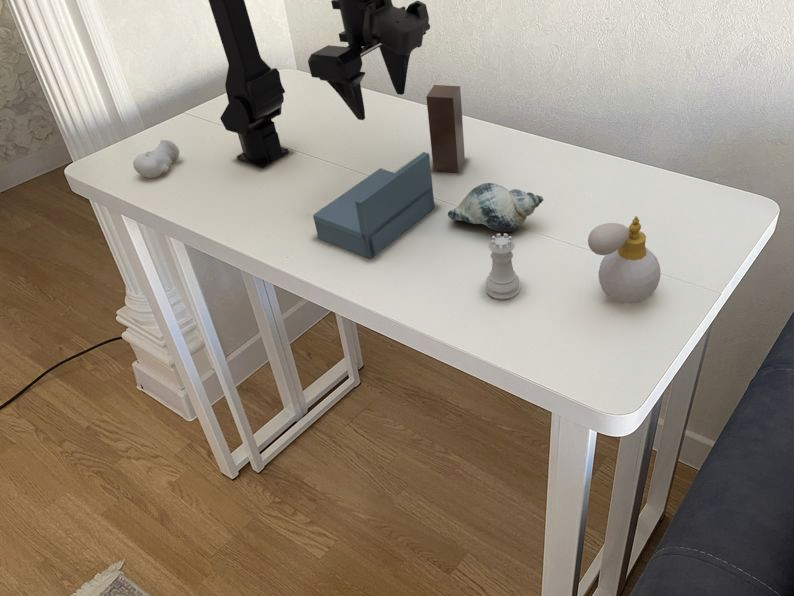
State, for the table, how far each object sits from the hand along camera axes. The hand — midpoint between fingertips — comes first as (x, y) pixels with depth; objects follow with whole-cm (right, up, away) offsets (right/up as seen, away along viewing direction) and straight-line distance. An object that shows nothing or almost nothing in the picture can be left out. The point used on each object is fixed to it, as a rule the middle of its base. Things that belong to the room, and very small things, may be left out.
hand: (381, 106), depth 102 cm
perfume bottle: (+32, -28, -11) cm, 44 cm away
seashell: (+16, -17, +2) cm, 23 cm away
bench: (-1, -16, +4) cm, 16 cm away
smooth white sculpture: (-39, -4, +20) cm, 44 cm away
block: (+9, -4, +16) cm, 19 cm away
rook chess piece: (+17, -27, -9) cm, 33 cm away
